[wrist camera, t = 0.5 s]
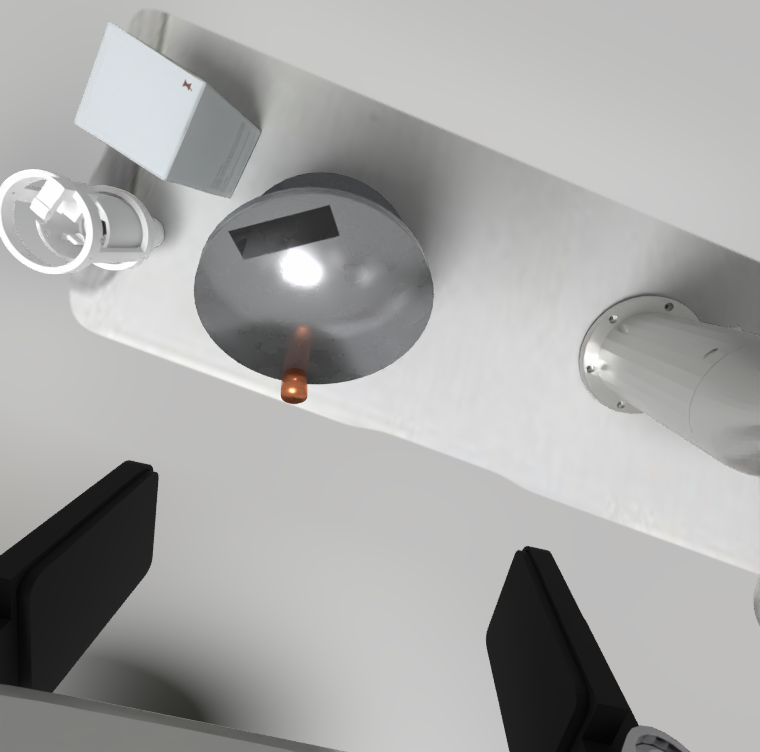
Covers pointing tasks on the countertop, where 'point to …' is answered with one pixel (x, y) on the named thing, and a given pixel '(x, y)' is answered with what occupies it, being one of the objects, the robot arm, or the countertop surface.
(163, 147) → the supplement box
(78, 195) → the white caged cylinder
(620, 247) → the countertop surface
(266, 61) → the countertop surface
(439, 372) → the countertop surface
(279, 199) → the lid
